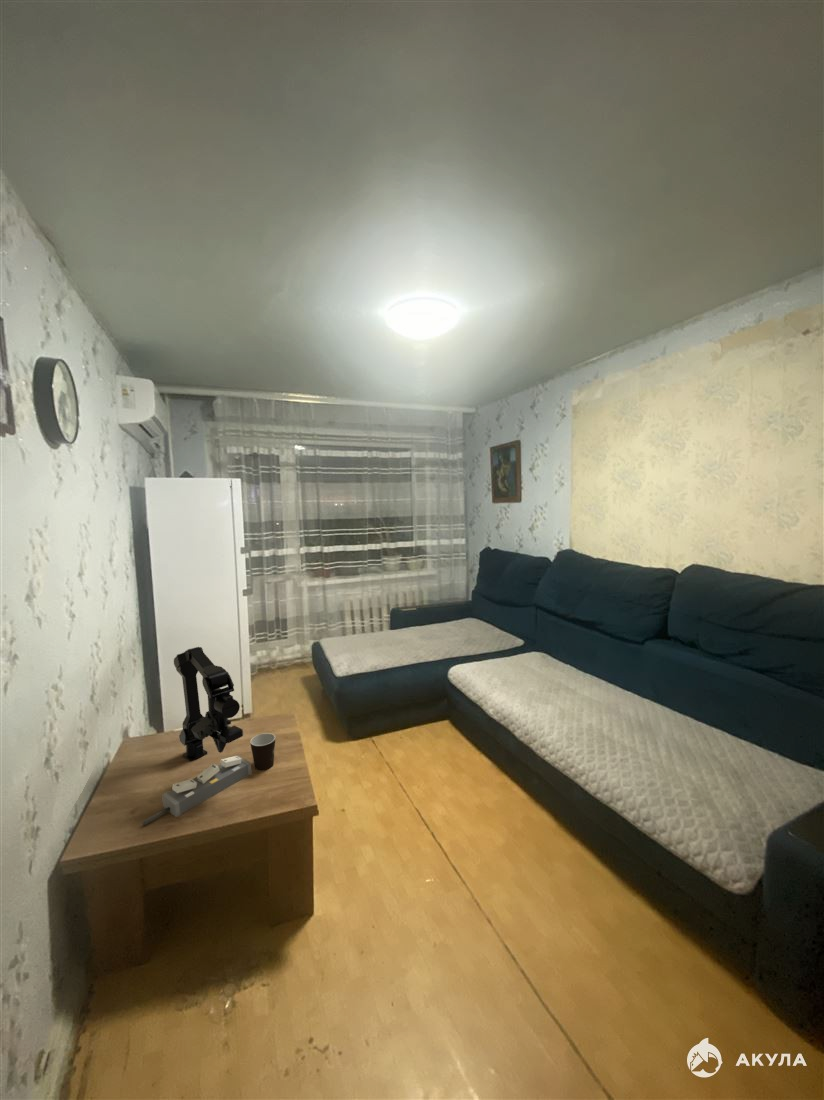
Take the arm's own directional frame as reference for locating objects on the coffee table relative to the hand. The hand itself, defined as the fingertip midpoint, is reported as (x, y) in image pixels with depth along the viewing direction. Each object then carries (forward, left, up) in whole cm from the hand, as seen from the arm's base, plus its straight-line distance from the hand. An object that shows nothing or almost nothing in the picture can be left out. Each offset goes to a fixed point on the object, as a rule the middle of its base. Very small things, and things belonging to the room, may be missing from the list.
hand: (220, 751), depth 149 cm
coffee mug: (+3, +15, -11) cm, 19 cm away
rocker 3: (0, +3, -5) cm, 6 cm away
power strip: (0, -8, -11) cm, 14 cm away
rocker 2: (0, -5, -5) cm, 7 cm away
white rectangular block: (0, -13, -5) cm, 14 cm away
